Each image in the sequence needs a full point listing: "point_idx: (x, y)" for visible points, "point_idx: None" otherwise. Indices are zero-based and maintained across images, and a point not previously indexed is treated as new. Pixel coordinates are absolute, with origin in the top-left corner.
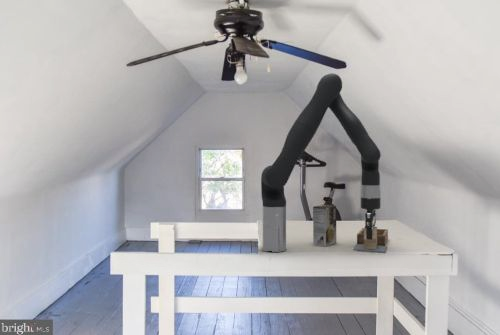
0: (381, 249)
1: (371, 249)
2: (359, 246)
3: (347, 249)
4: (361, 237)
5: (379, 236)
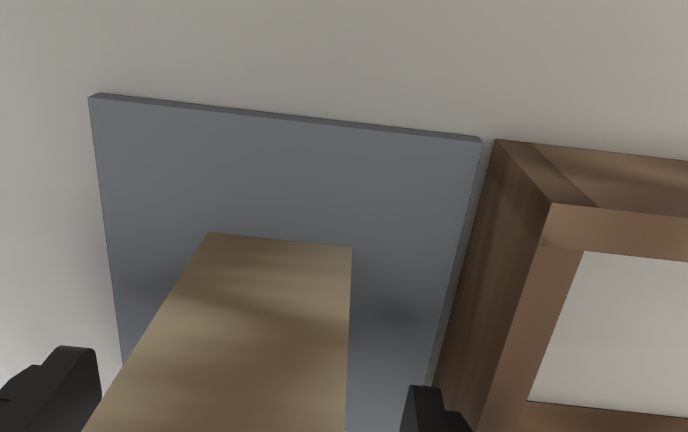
0: None
1: None
2: (307, 178)
3: (154, 8)
4: (511, 250)
5: None
